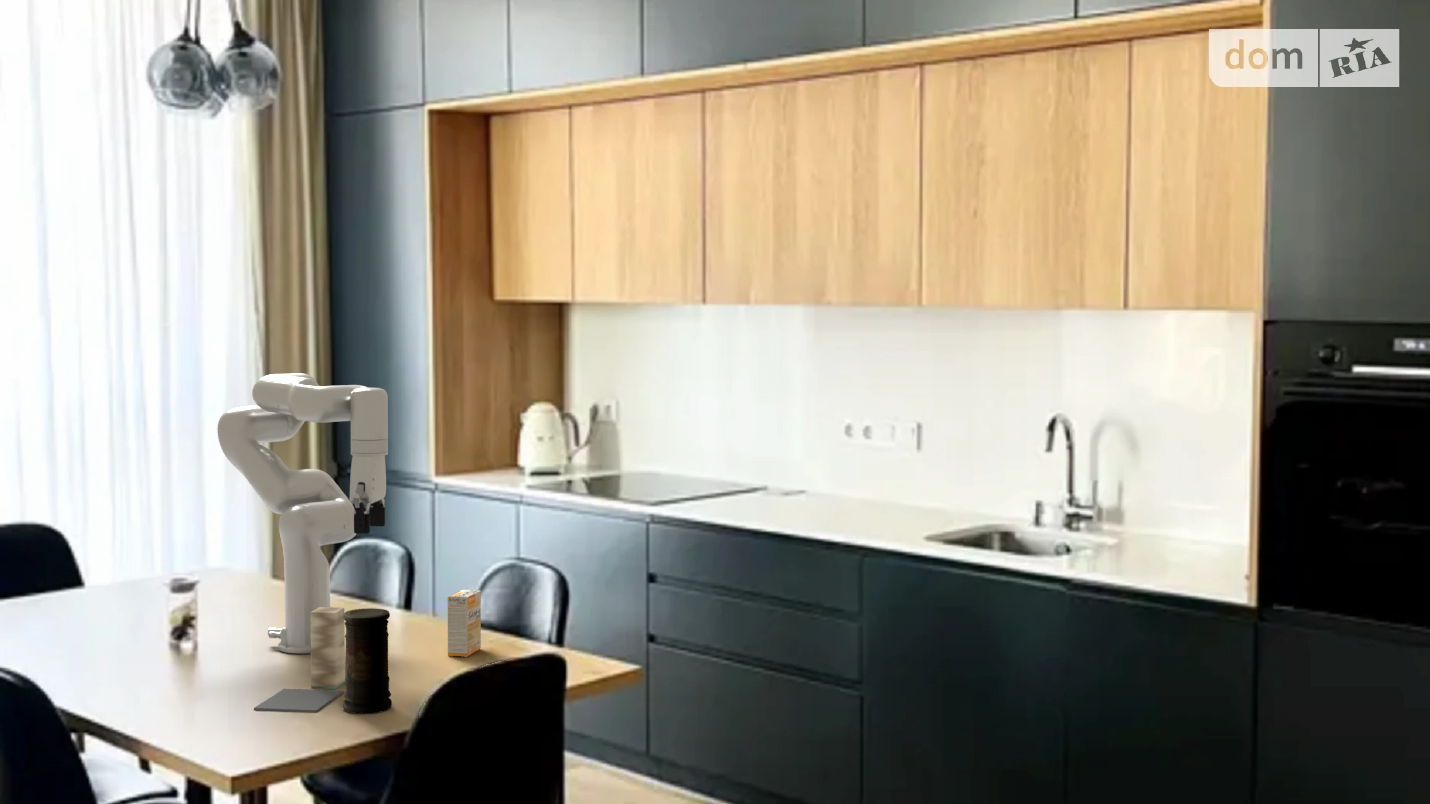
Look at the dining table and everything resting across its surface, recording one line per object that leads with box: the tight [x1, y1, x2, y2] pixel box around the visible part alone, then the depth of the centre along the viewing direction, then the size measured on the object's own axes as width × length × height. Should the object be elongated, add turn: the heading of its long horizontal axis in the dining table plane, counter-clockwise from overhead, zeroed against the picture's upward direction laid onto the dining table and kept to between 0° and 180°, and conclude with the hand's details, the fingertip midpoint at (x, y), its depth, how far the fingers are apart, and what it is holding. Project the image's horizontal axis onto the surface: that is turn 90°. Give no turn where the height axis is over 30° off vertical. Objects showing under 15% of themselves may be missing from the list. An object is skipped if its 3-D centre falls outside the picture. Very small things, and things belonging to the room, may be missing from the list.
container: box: [341, 607, 393, 715], centre depth 275 cm, size 9×9×18 cm
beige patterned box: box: [310, 606, 346, 690], centre depth 291 cm, size 5×5×15 cm
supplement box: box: [447, 589, 482, 658], centre depth 318 cm, size 8×5×13 cm, turn 168°
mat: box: [253, 688, 345, 713], centre depth 279 cm, size 12×14×1 cm
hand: (369, 529), depth 307 cm, fingers open, 9 cm apart
